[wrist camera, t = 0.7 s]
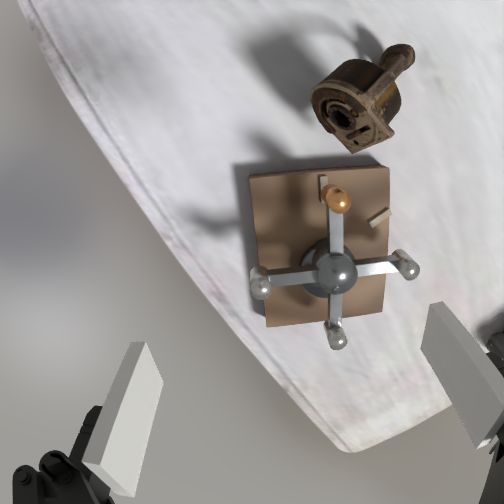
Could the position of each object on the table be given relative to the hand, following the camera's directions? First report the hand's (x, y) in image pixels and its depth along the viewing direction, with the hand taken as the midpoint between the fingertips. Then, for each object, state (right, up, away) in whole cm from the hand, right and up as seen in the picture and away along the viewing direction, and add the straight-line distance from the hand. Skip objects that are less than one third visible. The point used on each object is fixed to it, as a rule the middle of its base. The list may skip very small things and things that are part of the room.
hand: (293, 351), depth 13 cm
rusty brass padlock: (+8, +21, +14) cm, 26 cm away
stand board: (+6, +5, +20) cm, 22 cm away
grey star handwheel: (+6, +4, +19) cm, 20 cm away
